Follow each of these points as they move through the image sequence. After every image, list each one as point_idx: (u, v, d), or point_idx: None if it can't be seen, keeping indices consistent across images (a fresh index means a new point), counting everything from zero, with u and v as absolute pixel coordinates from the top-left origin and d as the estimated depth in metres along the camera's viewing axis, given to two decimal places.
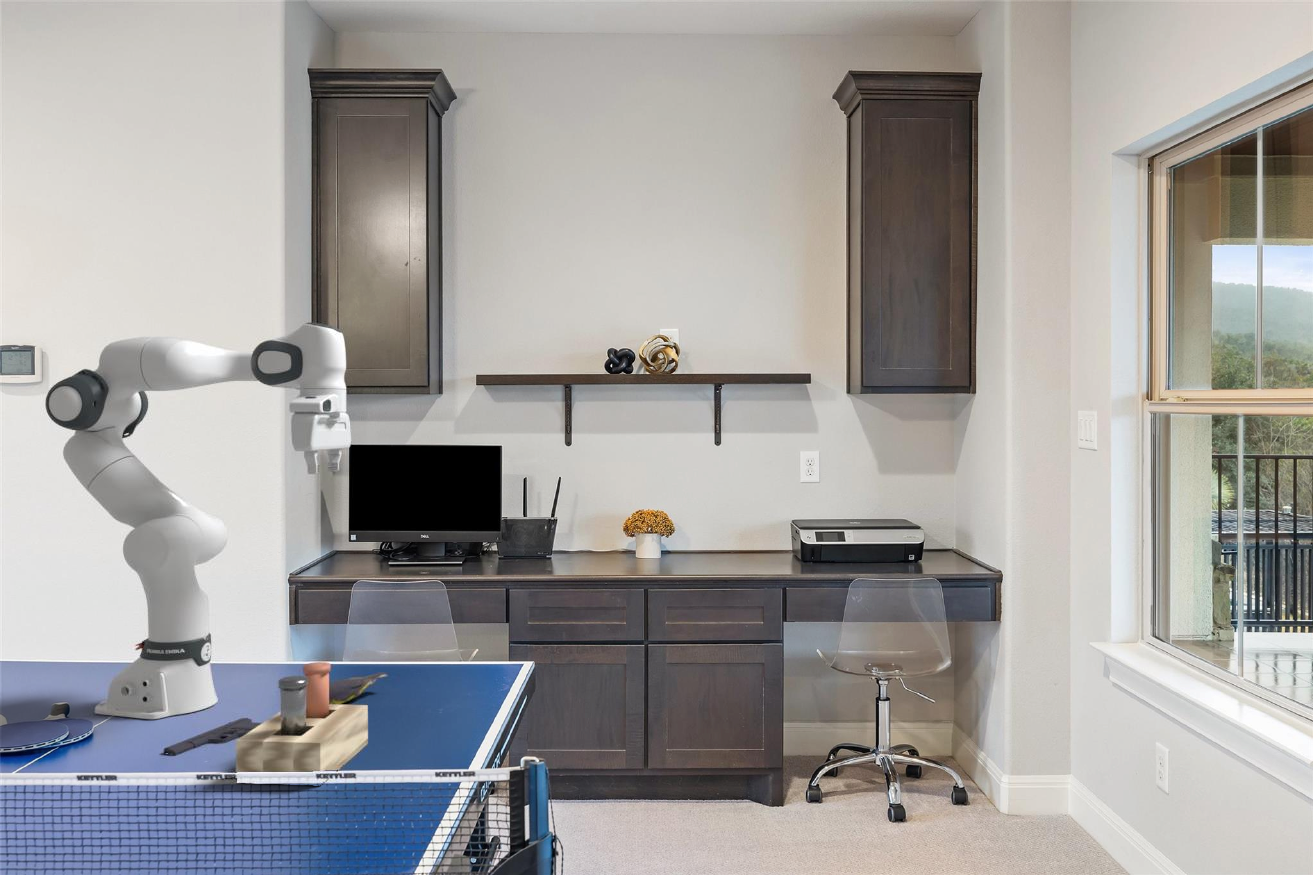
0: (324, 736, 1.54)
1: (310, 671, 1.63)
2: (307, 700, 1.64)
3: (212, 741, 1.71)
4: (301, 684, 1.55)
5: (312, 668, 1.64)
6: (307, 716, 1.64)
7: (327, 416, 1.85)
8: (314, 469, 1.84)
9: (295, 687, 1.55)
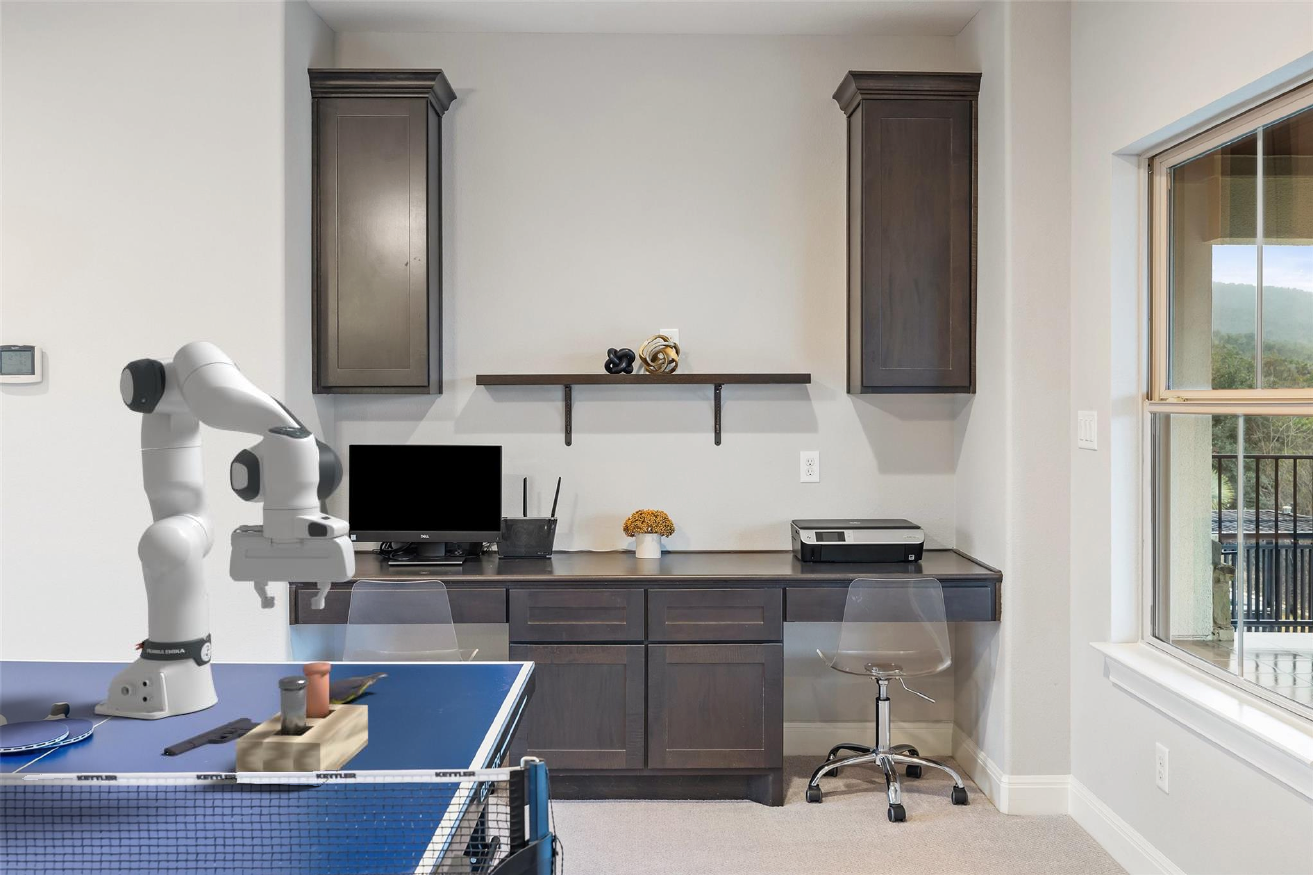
0: (324, 736, 1.54)
1: (310, 671, 1.63)
2: (307, 700, 1.64)
3: (212, 741, 1.71)
4: (301, 684, 1.55)
5: (312, 668, 1.64)
6: (307, 716, 1.64)
7: None
8: (323, 602, 1.56)
9: (295, 687, 1.55)
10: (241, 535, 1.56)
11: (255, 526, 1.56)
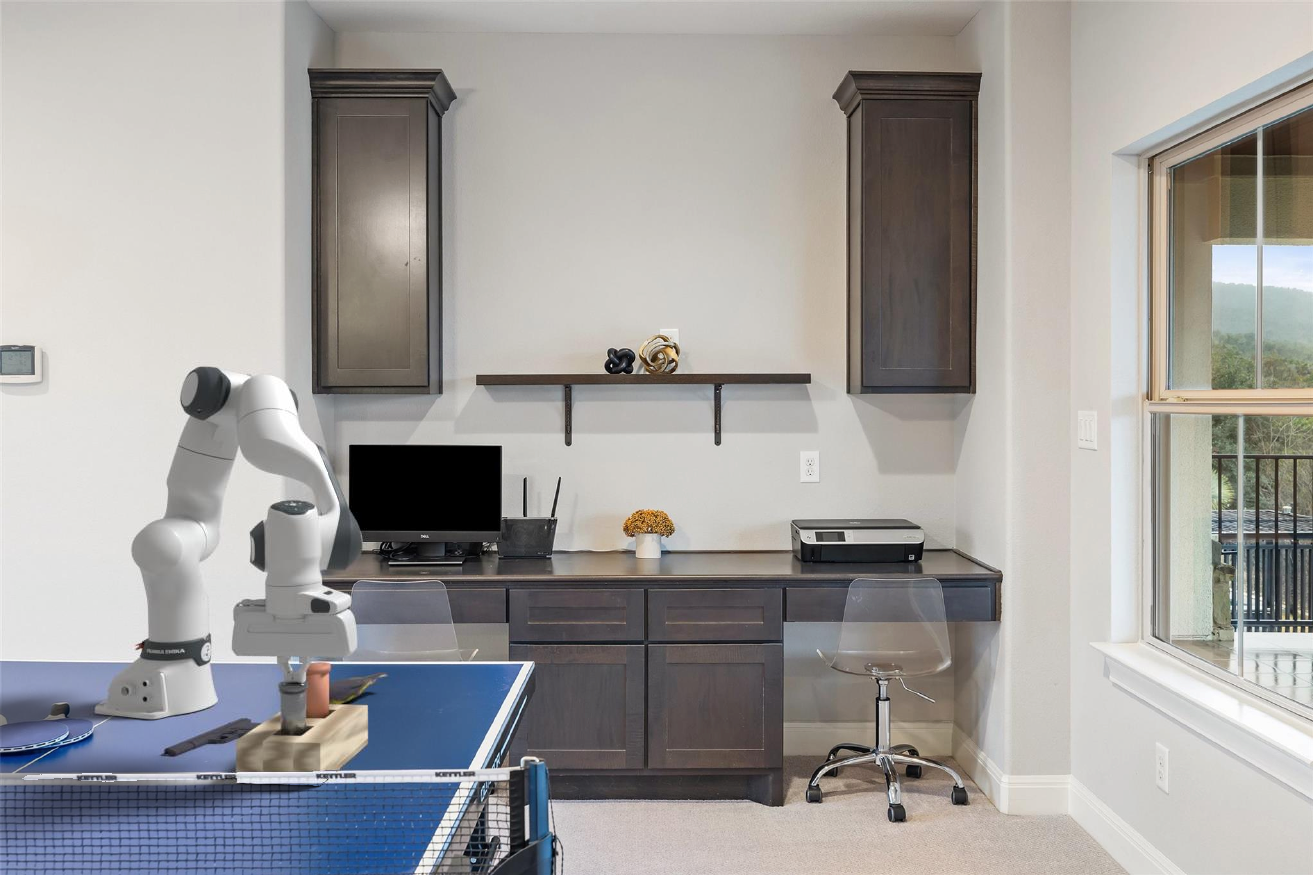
0: (324, 736, 1.54)
1: (310, 671, 1.63)
2: (307, 700, 1.64)
3: (212, 741, 1.71)
4: (301, 687, 1.55)
5: (312, 668, 1.64)
6: (307, 716, 1.64)
7: None
8: (304, 676, 1.57)
9: (295, 690, 1.55)
10: (243, 609, 1.57)
11: (257, 600, 1.56)
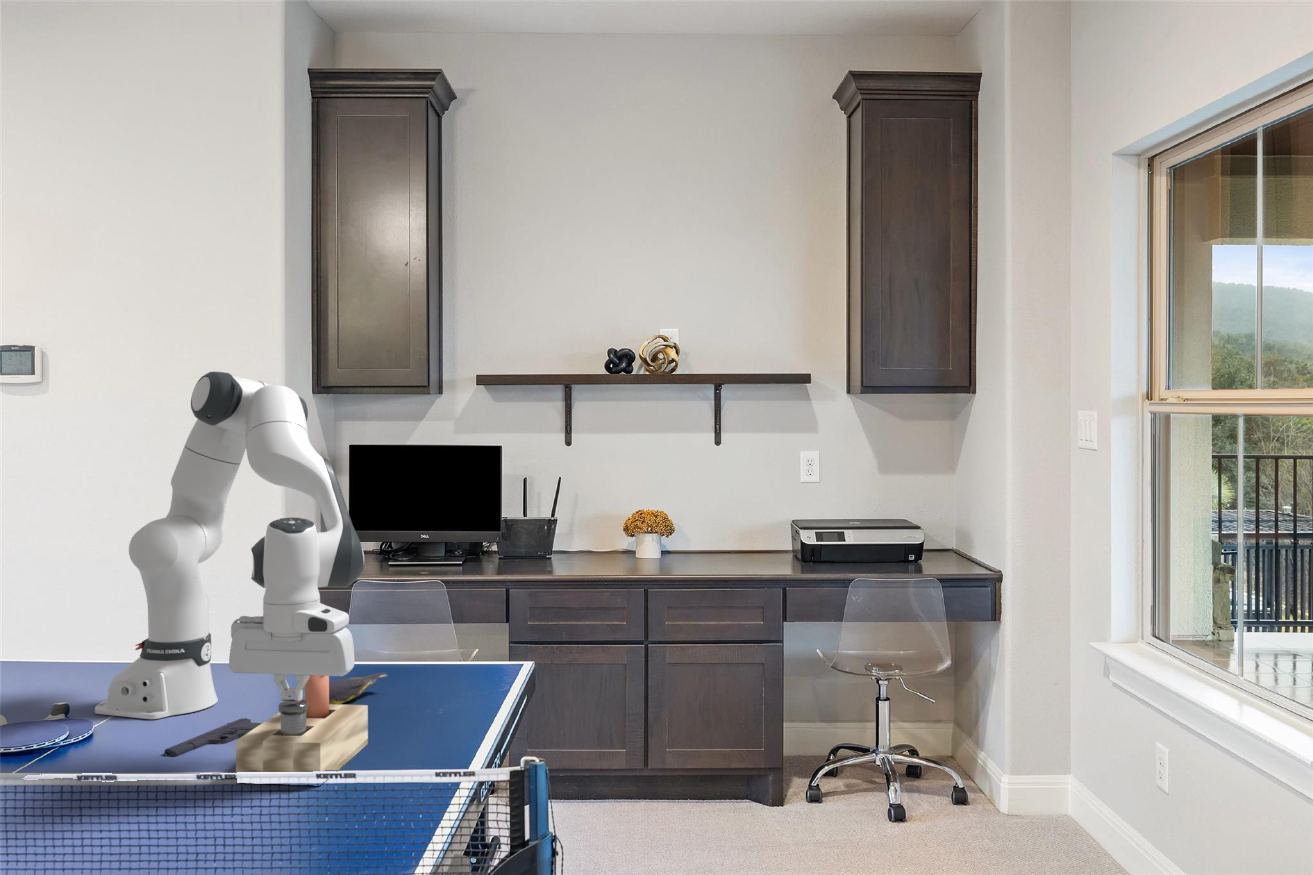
0: (324, 736, 1.54)
1: None
2: (307, 700, 1.64)
3: (212, 742, 1.71)
4: (301, 708, 1.55)
5: None
6: (307, 716, 1.64)
7: None
8: (301, 693, 1.57)
9: (295, 711, 1.55)
10: (241, 626, 1.57)
11: (255, 618, 1.56)
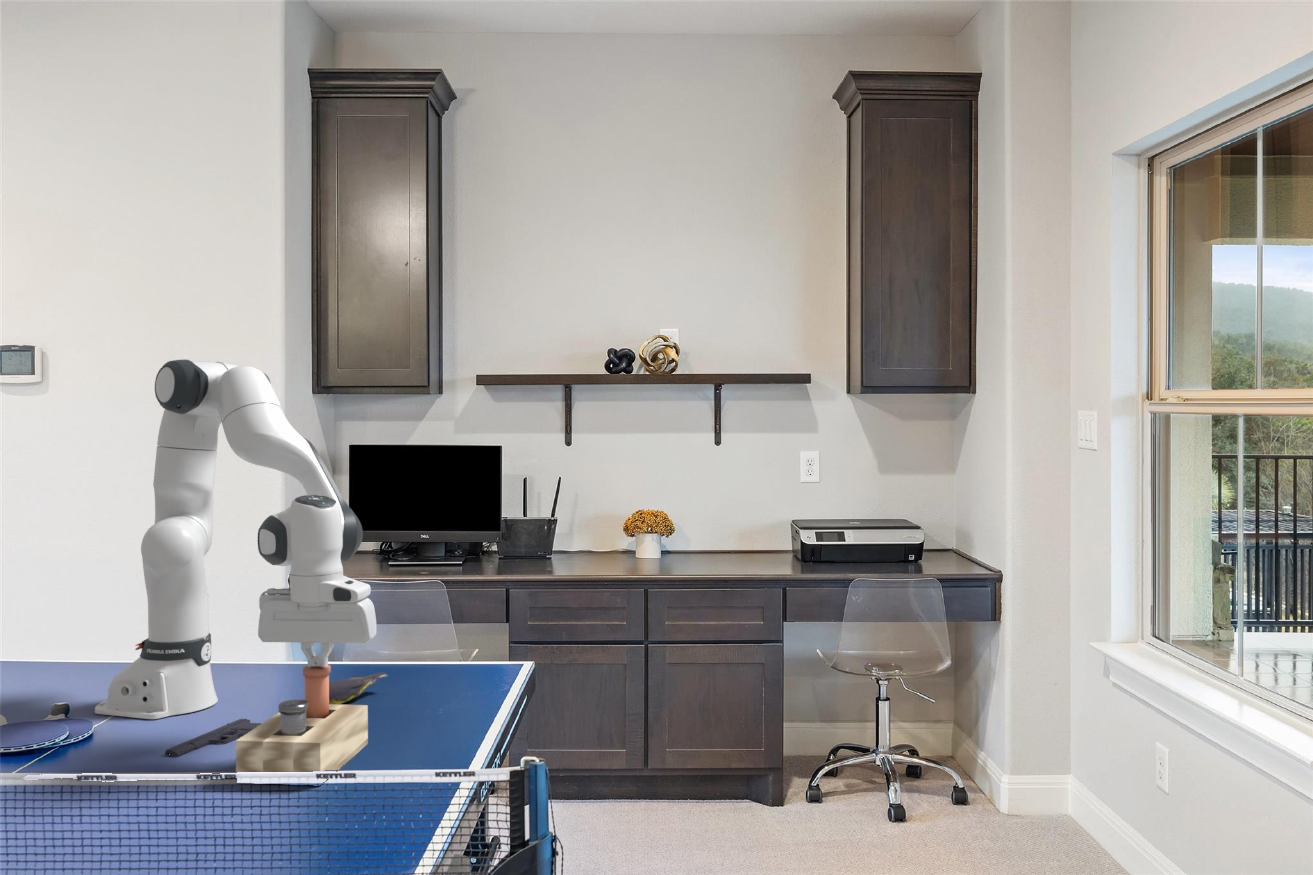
0: (324, 736, 1.54)
1: (310, 673, 1.63)
2: None
3: (213, 742, 1.71)
4: (301, 708, 1.55)
5: (312, 670, 1.64)
6: None
7: None
8: (327, 661, 1.66)
9: (295, 711, 1.55)
10: (269, 598, 1.66)
11: (282, 589, 1.65)
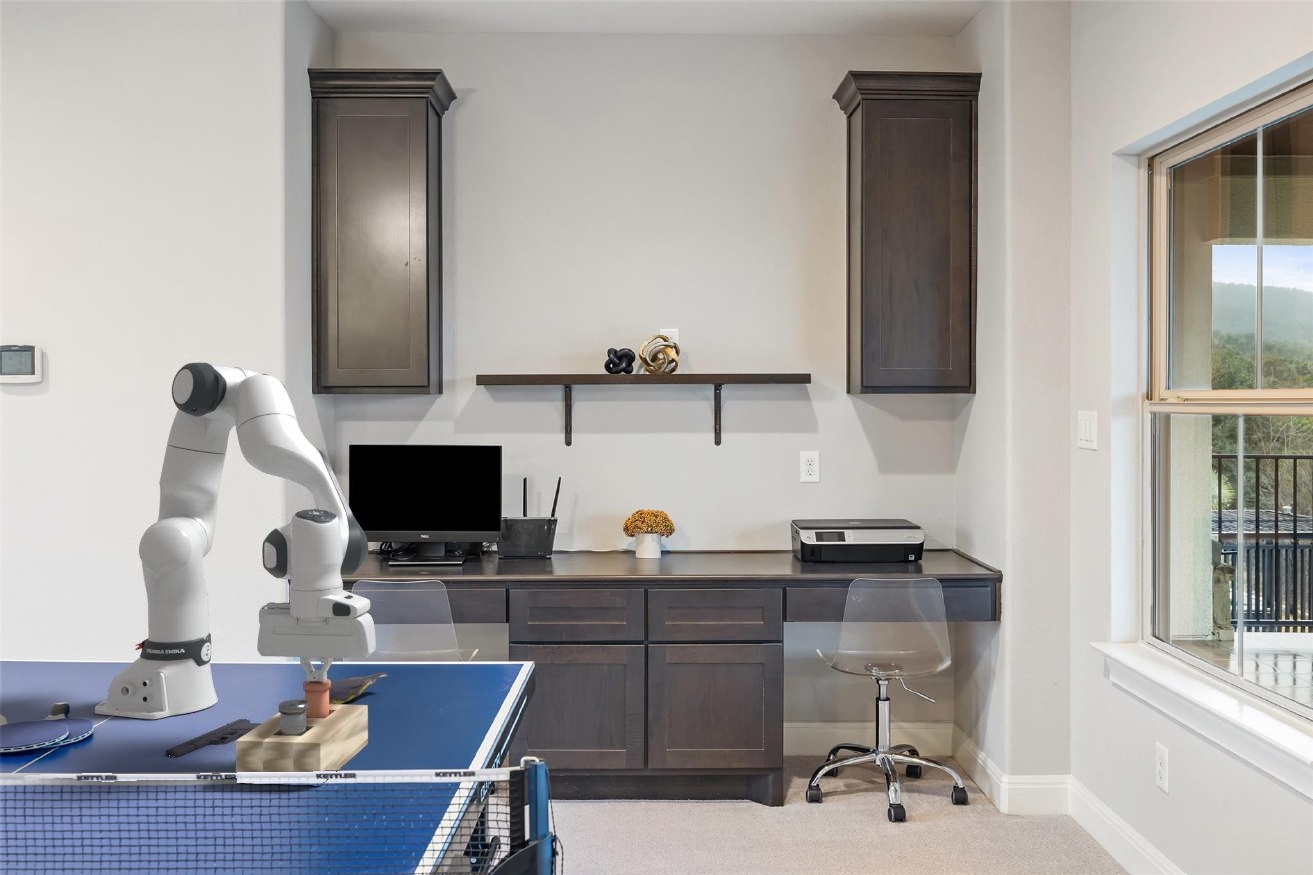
0: (324, 736, 1.54)
1: (310, 688, 1.63)
2: (307, 717, 1.64)
3: (213, 742, 1.70)
4: (301, 708, 1.55)
5: (312, 684, 1.64)
6: None
7: None
8: (325, 675, 1.66)
9: (295, 711, 1.55)
10: (268, 612, 1.66)
11: (282, 604, 1.65)
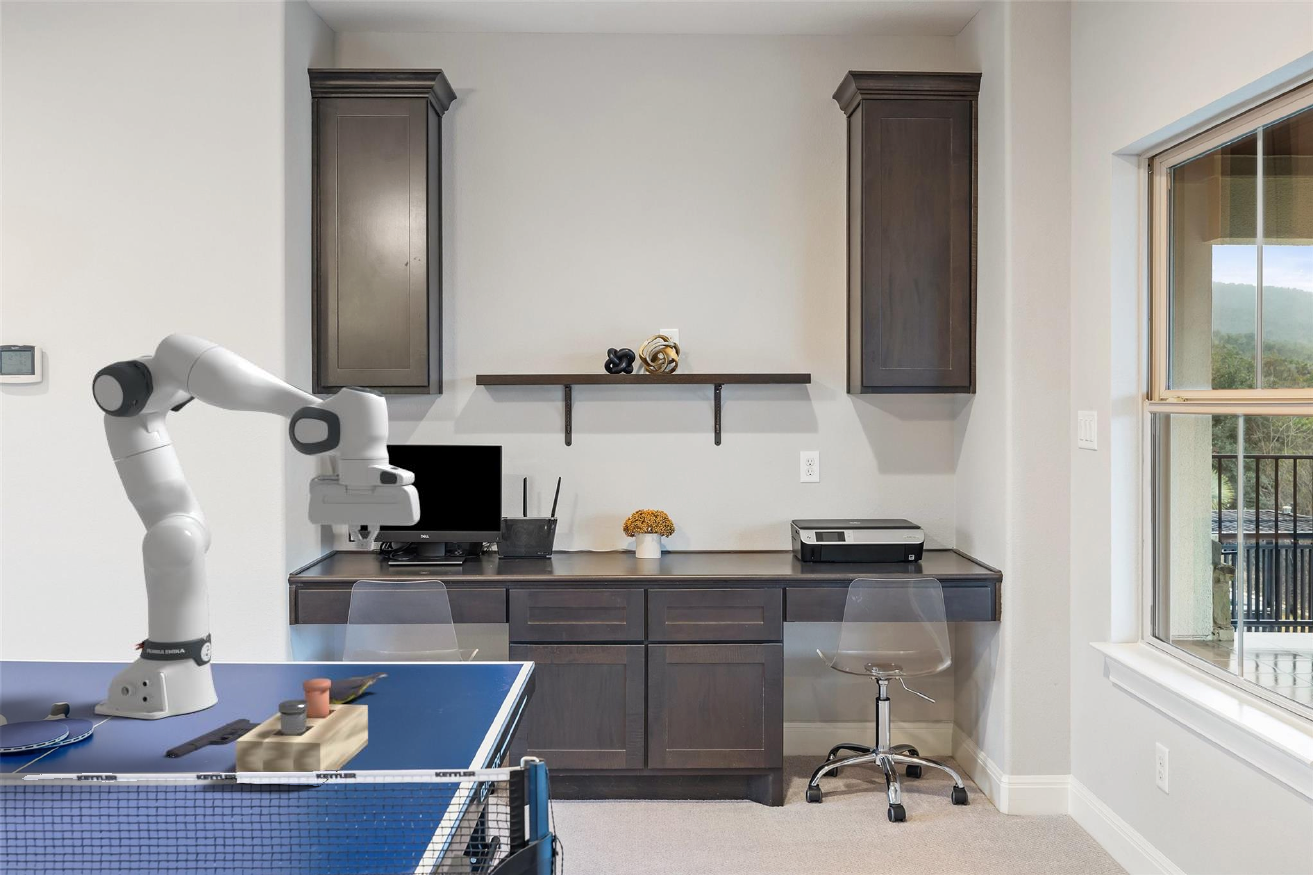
0: (324, 736, 1.54)
1: (310, 688, 1.63)
2: (307, 717, 1.64)
3: (213, 742, 1.70)
4: (301, 708, 1.55)
5: (312, 684, 1.64)
6: None
7: None
8: (372, 543, 1.75)
9: (295, 711, 1.55)
10: (318, 483, 1.75)
11: (331, 475, 1.74)
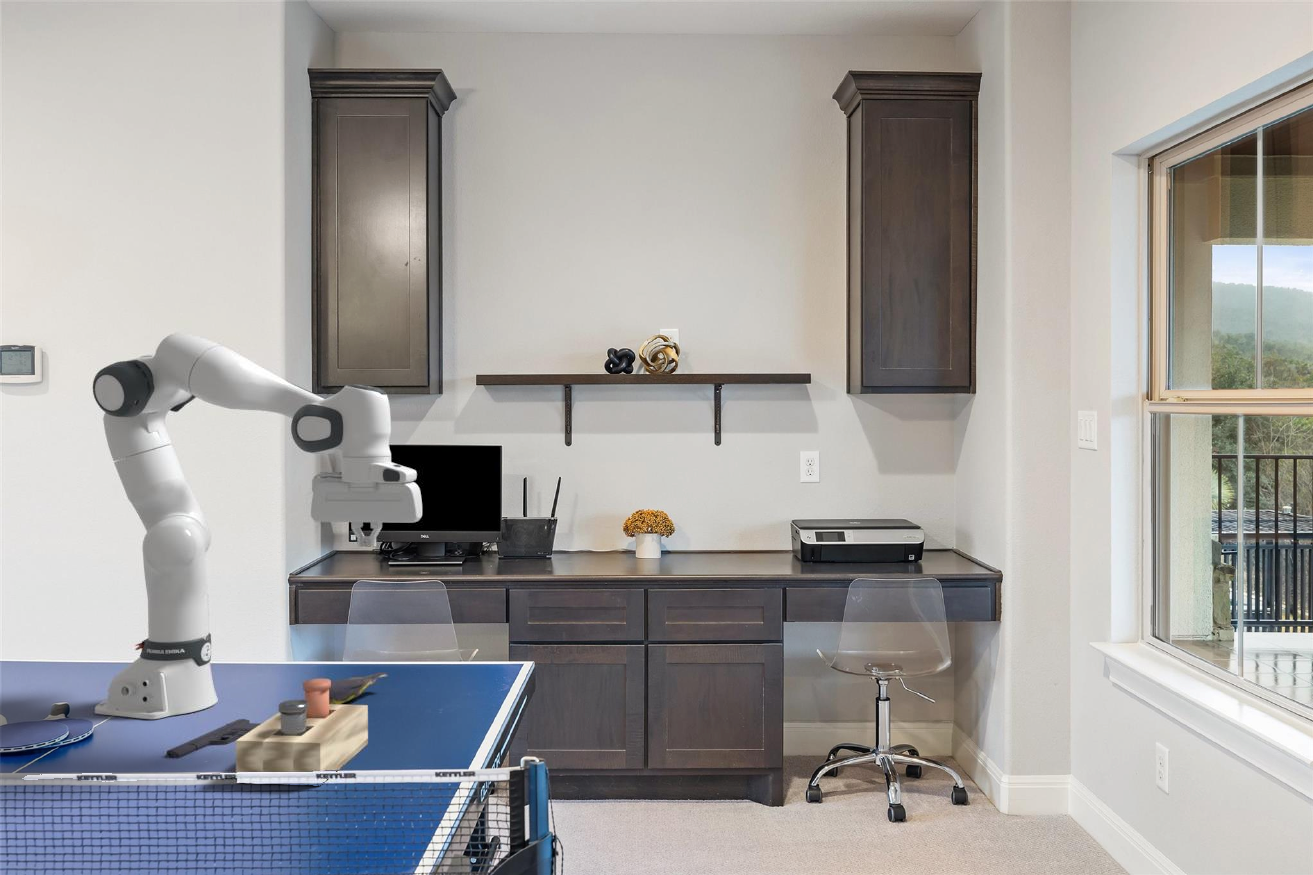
0: (324, 736, 1.54)
1: (310, 688, 1.63)
2: (307, 717, 1.64)
3: (214, 743, 1.70)
4: (301, 708, 1.55)
5: (312, 684, 1.64)
6: None
7: None
8: (375, 541, 1.76)
9: (295, 711, 1.55)
10: (321, 481, 1.75)
11: (334, 473, 1.75)
